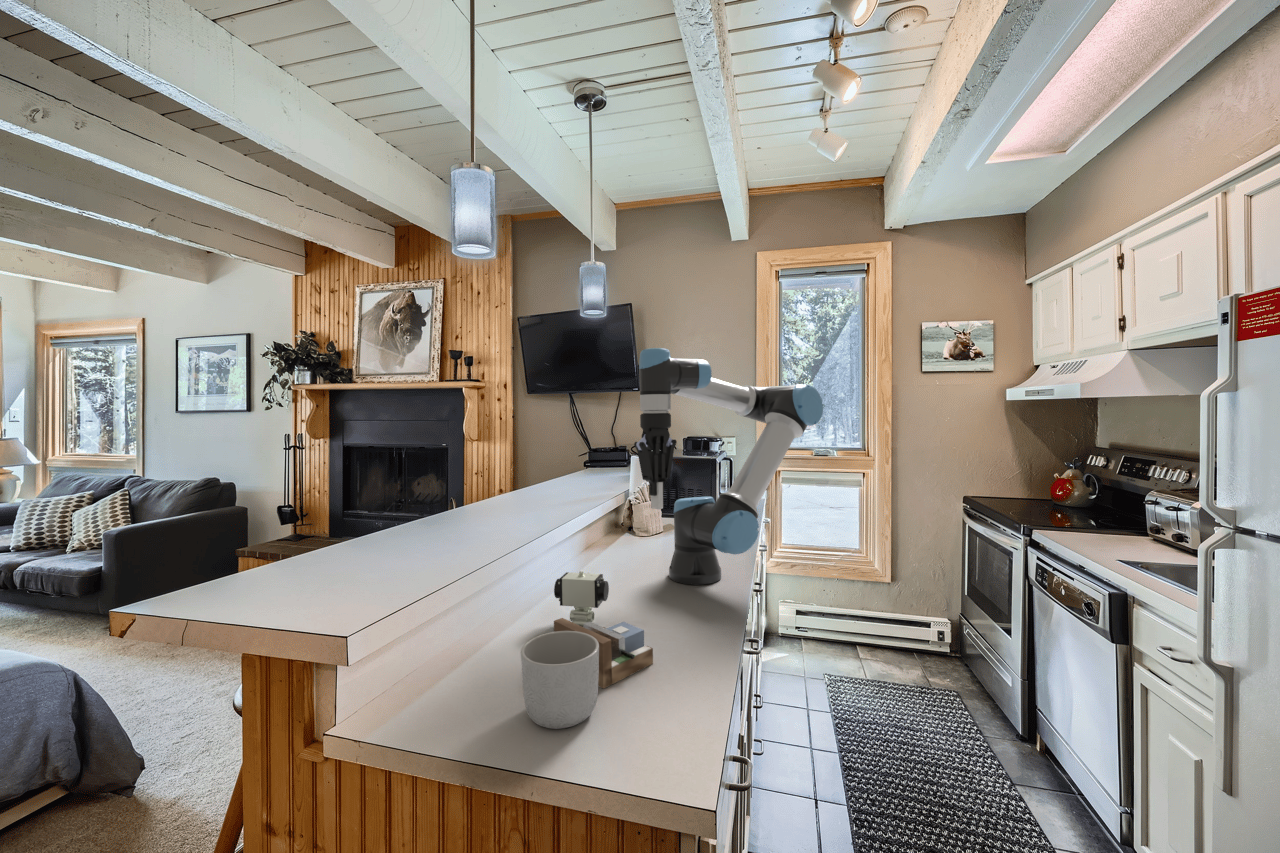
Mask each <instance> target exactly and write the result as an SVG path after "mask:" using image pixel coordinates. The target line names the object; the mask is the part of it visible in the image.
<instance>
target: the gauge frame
mask: <svg viewBox="0 0 1280 853" xmlns="http://www.w3.org/2000/svg"><path fill="white" fill-rule="evenodd" d="M602 627H603V628H606V627H605V626H602ZM557 631H577V632H582V633H586V634H589V635H591V636H593V637H594V638H595V639H596V640H597V641H598V643H599V679H598V688H601V689H606V688H608V687H610V686H612V685H614V684H615V683H617V682H618V683H619V682H620V681H622V680H623V679H625V678H627V677H629V676H631V675H634V674H636V673H637V672H639V671H641V670H643V669H645V668H647V667H650V666H651V665H653V664H654V648H653V647H650V646H648V645H644V646H643V647H641V648H639V649H637V650H635V651H633V652H631V654H633V655H634V659H631V658H629V657H627V656H625V655H623V656H620V657H618V658H616V659H614V660H613V661H612V653H611V640H610V639H608V638H606V637H604V636H601V635H599V634H597V633H595V632H593V631H590V630H588V629H586V628H584V626H579V625H577V624H575V623H573V622H572V621H571V620H568V619H566V618H564V617H560V618H557V619H555V620H553V632H557Z"/></svg>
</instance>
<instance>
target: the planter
mask: <svg viewBox="0 0 1280 853" xmlns="http://www.w3.org/2000/svg"><path fill="white" fill-rule="evenodd" d="M520 662H521V665H520V666H521V678H522V691H523V692H522V694H523V702H524V705H525V706H524V707H525V710H526V711H525V712H526V713H527V715H528V717H529V719H530V720H531V721H532V722H534V723H535V724H537V725H538V726H540V727H542V728H543V727H544V728H546V729H555V730H558V729H566V728H571V727H574V726H577V725H578V724H581V723H583V722H584V721H585V720H586V719H587V718H589V717H590V716H591V714H592V713H593V711H594V710H595V707H596V704H597V702H598V701H597V700H598V695H599V694H598V692H599V686H598V679H599V643H598V641H597V640H596V639H595V638H594V637H593V636H591V635H589V634H586V633H582V632H577V631H557V632H554V631H551V632H547V633H543V634H540V635H537V636H535V637H533V638H531V639H529V640H527V642H526V643H524V644H523V646H522V647H521V649H520Z"/></svg>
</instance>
